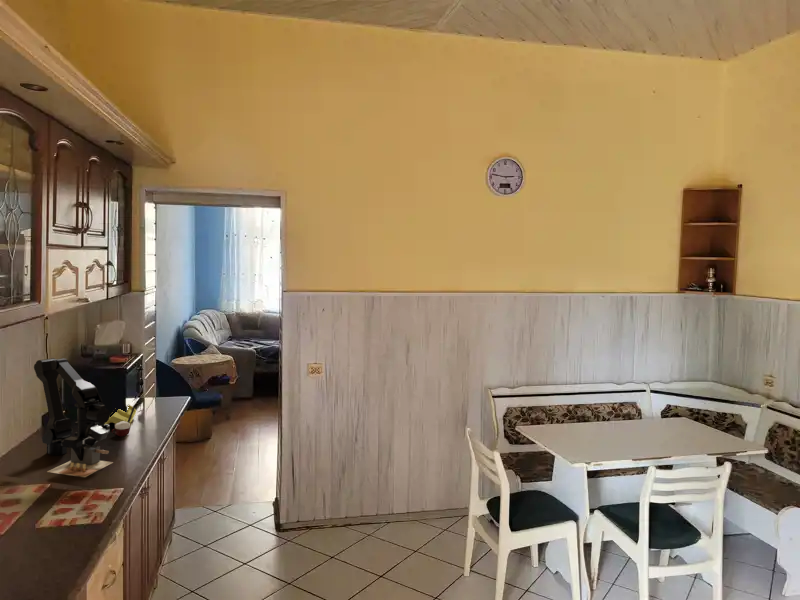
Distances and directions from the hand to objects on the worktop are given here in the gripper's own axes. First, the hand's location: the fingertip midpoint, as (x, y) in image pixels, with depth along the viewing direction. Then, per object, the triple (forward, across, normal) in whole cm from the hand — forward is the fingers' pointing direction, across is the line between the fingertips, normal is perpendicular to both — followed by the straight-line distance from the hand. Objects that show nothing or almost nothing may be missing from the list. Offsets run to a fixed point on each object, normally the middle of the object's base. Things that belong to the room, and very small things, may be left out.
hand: (85, 458), depth 237 cm
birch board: (+3, -5, -2) cm, 6 cm away
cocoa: (+3, +37, +10) cm, 38 cm away
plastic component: (+3, +54, +23) cm, 58 cm away
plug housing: (+1, 0, -3) cm, 3 cm away
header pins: (+1, -9, -4) cm, 10 cm away
